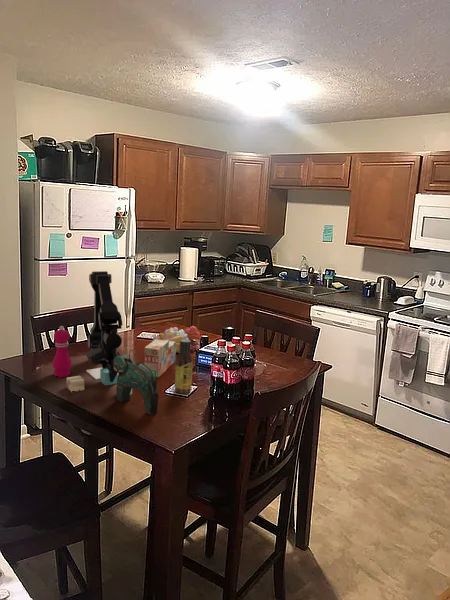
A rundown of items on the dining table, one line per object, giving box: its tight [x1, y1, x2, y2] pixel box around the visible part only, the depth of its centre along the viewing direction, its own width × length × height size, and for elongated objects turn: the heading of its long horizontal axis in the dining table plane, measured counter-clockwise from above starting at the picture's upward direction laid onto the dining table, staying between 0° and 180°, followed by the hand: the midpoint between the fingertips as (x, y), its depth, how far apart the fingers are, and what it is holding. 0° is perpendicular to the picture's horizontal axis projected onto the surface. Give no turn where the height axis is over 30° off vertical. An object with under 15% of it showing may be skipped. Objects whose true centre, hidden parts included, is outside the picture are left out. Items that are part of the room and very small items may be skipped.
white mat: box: [85, 367, 102, 381], centre depth 205 cm, size 11×11×1 cm
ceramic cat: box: [113, 349, 160, 416], centre depth 174 cm, size 20×6×20 cm, turn 51°
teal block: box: [99, 368, 118, 386], centre depth 195 cm, size 5×5×5 cm
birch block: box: [66, 375, 85, 393], centre depth 188 cm, size 5×5×4 cm
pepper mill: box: [52, 325, 72, 378], centre depth 199 cm, size 7×7×20 cm
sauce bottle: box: [174, 339, 194, 394], centre depth 189 cm, size 6×6×20 cm
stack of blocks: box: [143, 339, 177, 379], centre depth 213 cm, size 21×6×12 cm, turn 166°
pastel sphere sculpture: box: [152, 325, 202, 354], centre depth 245 cm, size 25×24×9 cm
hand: (108, 379), depth 196 cm, fingers closed on teal block, 5 cm apart
